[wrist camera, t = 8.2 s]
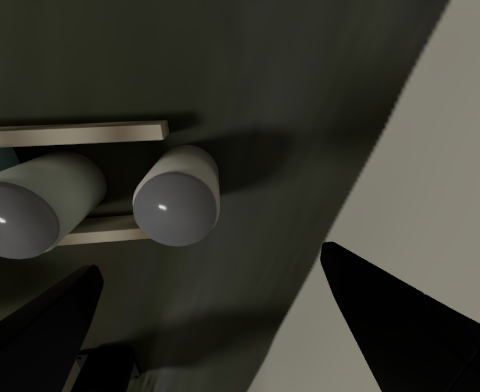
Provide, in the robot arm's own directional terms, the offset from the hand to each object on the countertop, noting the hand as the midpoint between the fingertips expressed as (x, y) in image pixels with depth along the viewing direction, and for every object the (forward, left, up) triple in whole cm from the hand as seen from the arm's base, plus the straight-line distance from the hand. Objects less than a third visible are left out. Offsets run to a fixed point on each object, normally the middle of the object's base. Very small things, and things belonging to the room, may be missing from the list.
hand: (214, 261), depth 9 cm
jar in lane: (0, +12, -11) cm, 16 cm away
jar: (0, +2, -11) cm, 12 cm away
